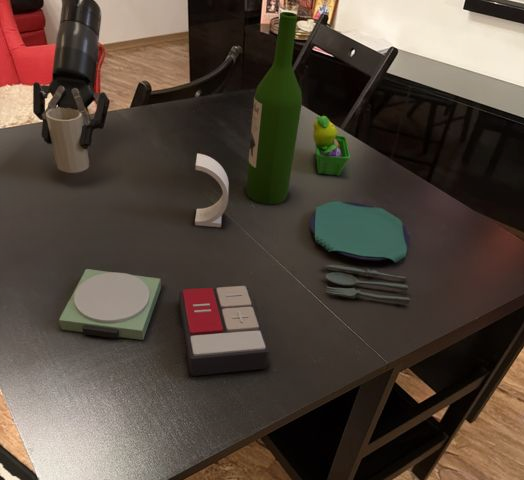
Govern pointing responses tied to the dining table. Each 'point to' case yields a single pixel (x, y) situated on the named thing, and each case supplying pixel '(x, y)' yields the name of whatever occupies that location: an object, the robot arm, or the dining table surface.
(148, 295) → the scale
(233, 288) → the calculator
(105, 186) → the dining table surface
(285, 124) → the wine bottle
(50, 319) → the dining table surface
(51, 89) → the robot arm
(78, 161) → the cream cup
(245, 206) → the dining table surface
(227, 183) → the headphone stand
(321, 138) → the fruit basket
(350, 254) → the cutlery set
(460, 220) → the dining table surface
